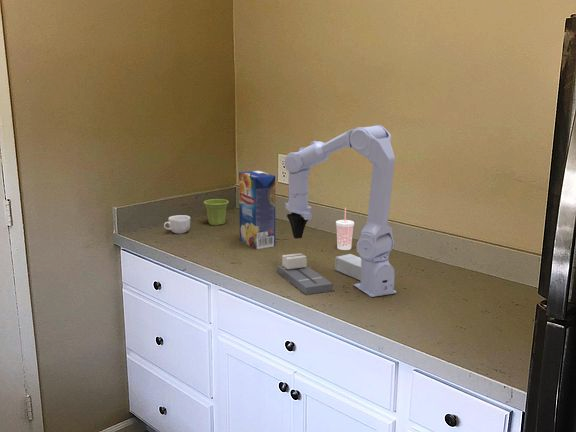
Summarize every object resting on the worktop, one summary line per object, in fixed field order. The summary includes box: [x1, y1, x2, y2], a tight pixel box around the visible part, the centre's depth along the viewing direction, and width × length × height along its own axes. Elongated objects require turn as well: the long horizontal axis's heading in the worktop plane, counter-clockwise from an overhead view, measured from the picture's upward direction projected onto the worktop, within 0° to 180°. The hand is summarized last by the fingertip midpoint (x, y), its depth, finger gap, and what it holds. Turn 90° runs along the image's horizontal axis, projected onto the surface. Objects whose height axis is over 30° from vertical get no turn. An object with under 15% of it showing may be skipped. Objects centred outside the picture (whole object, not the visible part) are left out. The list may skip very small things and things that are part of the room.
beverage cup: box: [335, 206, 355, 251], centre depth 202 cm, size 6×6×14 cm
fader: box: [281, 252, 308, 269], centre depth 177 cm, size 4×6×3 cm, turn 113°
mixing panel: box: [276, 264, 334, 295], centre depth 172 cm, size 20×8×2 cm, turn 23°
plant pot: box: [203, 198, 229, 226], centre depth 233 cm, size 9×9×9 cm
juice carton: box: [238, 170, 276, 250], centre depth 205 cm, size 12×8×24 cm, turn 31°
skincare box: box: [334, 253, 361, 282], centre depth 178 cm, size 6×4×12 cm
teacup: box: [163, 214, 191, 235], centre depth 221 cm, size 10×8×5 cm
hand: (297, 237), depth 181 cm, fingers closed
